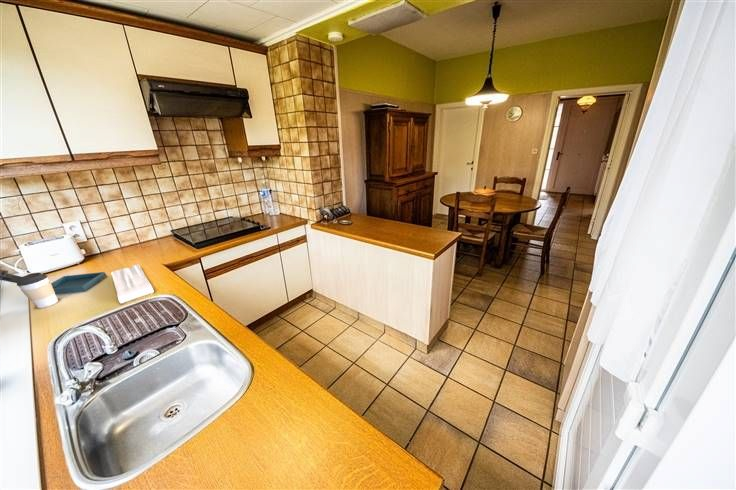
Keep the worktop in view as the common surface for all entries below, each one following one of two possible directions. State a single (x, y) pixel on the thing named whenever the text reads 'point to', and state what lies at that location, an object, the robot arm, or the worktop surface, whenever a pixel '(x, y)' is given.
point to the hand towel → (131, 283)
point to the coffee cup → (38, 289)
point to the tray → (77, 283)
